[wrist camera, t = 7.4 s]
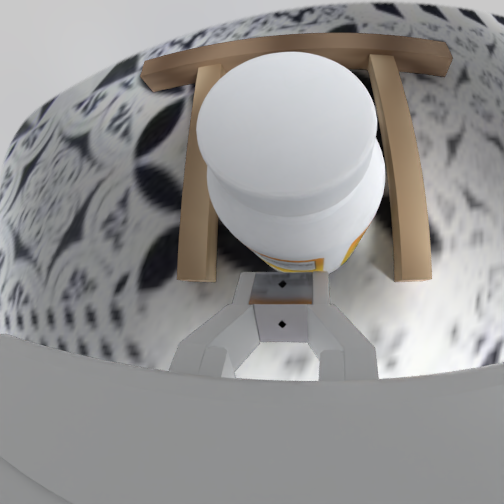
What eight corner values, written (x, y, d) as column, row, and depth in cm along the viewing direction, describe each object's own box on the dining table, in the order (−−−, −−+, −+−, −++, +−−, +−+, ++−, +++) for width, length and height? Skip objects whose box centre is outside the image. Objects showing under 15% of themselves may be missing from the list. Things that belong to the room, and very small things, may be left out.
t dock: (438, 61, 15) (445, 42, 13) (485, 278, 13) (503, 275, 11) (157, 76, 19) (144, 61, 17) (127, 279, 17) (107, 276, 15)
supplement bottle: (327, 159, 16) (325, 12, 6) (378, 249, 14) (458, 165, 5) (236, 203, 16) (143, 91, 7) (279, 298, 15) (215, 283, 6)
